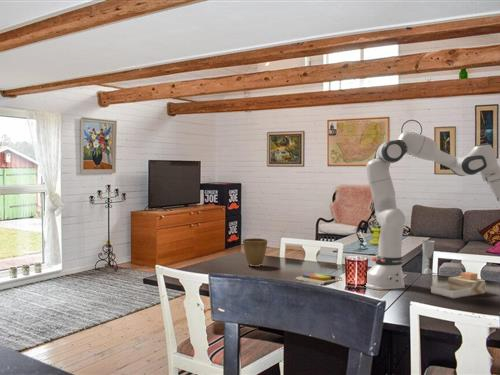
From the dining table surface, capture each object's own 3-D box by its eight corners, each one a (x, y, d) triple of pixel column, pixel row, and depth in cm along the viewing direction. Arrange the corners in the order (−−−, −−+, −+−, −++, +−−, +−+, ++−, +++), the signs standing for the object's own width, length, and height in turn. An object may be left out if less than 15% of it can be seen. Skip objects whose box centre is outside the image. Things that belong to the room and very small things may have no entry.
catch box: (453, 298, 208) (453, 291, 208) (430, 292, 219) (431, 286, 219) (470, 295, 214) (470, 288, 214) (448, 290, 225) (448, 283, 225)
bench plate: (470, 295, 214) (470, 282, 214) (448, 290, 225) (448, 277, 225) (484, 293, 219) (484, 280, 219) (462, 287, 229) (462, 275, 229)
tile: (470, 279, 219) (470, 274, 219) (461, 278, 224) (461, 272, 224) (477, 278, 222) (477, 273, 222) (467, 277, 226) (468, 271, 226)
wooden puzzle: (342, 280, 247) (343, 274, 247) (323, 286, 233) (323, 279, 233) (315, 276, 259) (315, 269, 259) (294, 281, 245) (294, 274, 245)
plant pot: (238, 265, 288) (238, 239, 288) (260, 263, 295) (260, 237, 294) (248, 269, 275) (249, 241, 275) (271, 267, 281) (271, 240, 281)
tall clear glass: (425, 274, 263) (425, 242, 263) (418, 271, 270) (419, 240, 269) (437, 273, 264) (437, 241, 264) (430, 271, 271) (430, 240, 271)
